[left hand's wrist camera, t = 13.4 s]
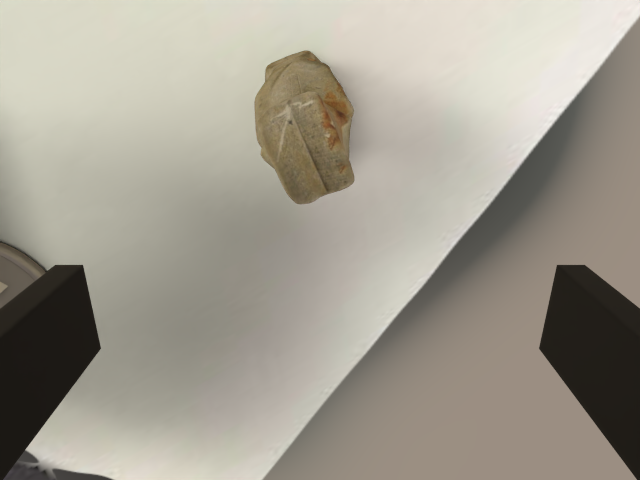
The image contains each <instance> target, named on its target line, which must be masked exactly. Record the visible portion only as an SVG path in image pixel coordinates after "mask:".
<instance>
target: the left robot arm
mask: <svg viewBox="0 0 640 480" xmlns="http://www.w3.org/2000/svg"><path fill="white" fill-rule="evenodd" d="M100 349H101V347H100V342H99V338H98V333H97V328H96V324H95V319H94V314H93V310H92V305H91V300H90V296H89V291H88V286H87V282H86V277H85V273H84V268H83V265H55V266H53V267H52V268H51V269H50V270H48V271H47V272H45V271H44V270H43V269H42V268H41V267H40V266H39V265H38V264H37V263H36V262H34V261H33V260H32V259H30V258H29V257H28V256H26V255H25V254H23V253H22V252H20V251H18V250H16V249H15V248H13V247H11V246H8V245H6V244H4V243H2V242H0V480H3V479H4V477H5V476H6V475H7V473H8V472H9V471H10V469H11V468H12V467H13V465H14V464H15V463H16V461H17V460H18V459H19V457H20V456H21V455H22V453H23V452H24V451H25V449H26V448H27V447H28V445H29V444H30V443H31V441H32V440H33V439H34V437H35V436H36V435H37V433H38V432H39V431H40V429H41V428H42V427H43V425H44V424H45V423H46V421H47V420H48V419H49V417H50V416H51V415H52V413H53V412H54V410H55V409H56V408H57V406H58V405H59V404H60V402H61V401H62V400H63V398H64V397H65V396H66V394H67V393H68V392H69V390H70V389H71V388H72V386H73V385H74V384H75V382H76V381H77V380H78V378H79V377H80V376H81V374H82V373H83V372H84V370H85V369H86V368H87V366H88V365H89V364H90V362H91V361H92V360H93V358H94V357H95V356H96V354H97V353H98V352H99V350H100ZM539 349H540V350H541V352H542V353H543V354H544V356H545V357H546V358H547V360H548V361H549V362H550V364H551V365H552V366H553V368H554V369H555V370H556V372H557V373H558V374H559V376H560V377H561V378H562V380H563V381H564V382H565V384H566V385H567V386H568V388H569V389H570V390H571V392H572V393H573V394H574V396H575V397H576V398H577V400H578V401H579V402H580V404H581V405H582V406H583V408H584V409H585V410H586V412H587V413H588V414H589V416H590V417H591V419H592V420H593V421H594V422H595V424H596V425H597V427H598V428H599V429H600V431H601V432H602V433H603V435H604V436H605V437H606V439H607V440H608V441H609V443H610V444H611V445H612V447H613V448H614V449H615V451H616V452H617V453H618V455H619V456H620V457H621V459H622V460H623V461H624V463H625V464H626V465H627V467H628V468H629V469H630V471H631V472H632V473H633V475H634V476H635V477H636V479H637V480H640V308H638V307H637V306H636V305H635V304H633V303H632V302H631V301H629V300H628V299H627V298H626V297H624V296H623V295H622V294H621V293H619V292H618V291H617V290H616V289H614V288H613V287H612V286H611V285H609V284H608V283H607V282H606V281H604V280H603V279H602V278H600V277H599V276H598V275H597V274H595V273H594V272H593V271H592V270H590V269H589V268H588V267H586V266H585V265H557V268H556V273H555V277H554V282H553V286H552V291H551V296H550V301H549V305H548V310H547V314H546V319H545V324H544V328H543V333H542V338H541V343H540V347H539Z"/></svg>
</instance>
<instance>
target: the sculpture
mask: <svg viewBox="0 0 640 480" xmlns="http://www.w3.org/2000/svg"><path fill="white" fill-rule="evenodd" d="M353 114H354V109H353V107H352V105H351V103H350V102H349V100H348V98H347V96H346V95H345V93H344V91H343V88H342V86H341V85H340V84H339V83H338V81H337V80H336V78H335V77H334V75H333V74H332V72H331V70H330V68H329V66H328V65H326V64H324V63H321V62H320V60H319V59H318V58H317V57H316V56H315V55H314V54H312V53H311V52H310V51H302V52H299V53H296V54H293V55H290V56H287V57H285V58H282V59H280V60H278V61H276V62H273V63H271V64H270V65H268V66H267V68H266V73H265V83H264V85H263V86H262V88H261V89H260V91H259V92H258V94H257V96H256V98H255V123H256V135H257V140H258V143H259V144H260V146H261V148H262V149H261V156H262V158H263V159H264V160H265V161H266V162H267V163H268V164H269V165H271V166H272V167H273V168H274V169H275V170H276V172H277V175H278V177H279V179H280V181H281V183H282V185H283V187H284V189H285V191H286V193H287V194H288V195H289V197H290V198H291V199H292V200H293V201H294V202H295V203H297V204H308V203H311V202H314V201H315V200H317V199H318V198H320V197H322V196H324V195H326V194H330V193H333V192H336V191H340V190H342V189H345V188H347V187H349V186H350V185H351V184H353V182H354V174H353V170H352V167H351V164H350V162H349V136H350V127H351V121H352V116H353Z"/></svg>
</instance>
